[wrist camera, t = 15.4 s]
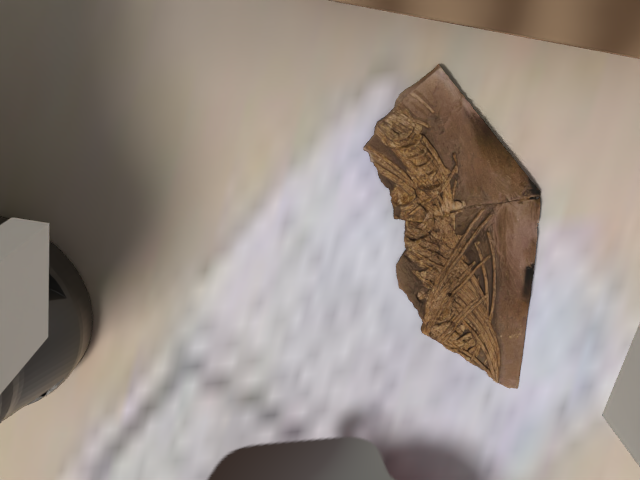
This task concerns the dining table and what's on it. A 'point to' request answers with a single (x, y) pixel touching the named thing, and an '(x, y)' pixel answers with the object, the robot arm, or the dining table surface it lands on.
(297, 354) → the dining table surface
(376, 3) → the plank
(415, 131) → the wooden fragment
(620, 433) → the robot arm
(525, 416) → the dining table surface
